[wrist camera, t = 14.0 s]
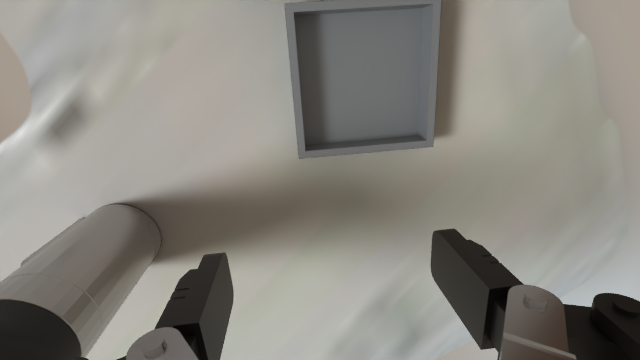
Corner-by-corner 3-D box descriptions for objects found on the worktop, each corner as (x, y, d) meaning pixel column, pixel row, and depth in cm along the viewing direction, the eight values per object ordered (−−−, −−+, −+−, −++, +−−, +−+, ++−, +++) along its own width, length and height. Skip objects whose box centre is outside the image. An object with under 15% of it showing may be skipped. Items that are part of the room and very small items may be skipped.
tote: (298, 151, 40) (298, 158, 36) (284, 9, 34) (284, 3, 31) (421, 140, 41) (433, 146, 37) (427, 0, 35) (441, -7, 32)
